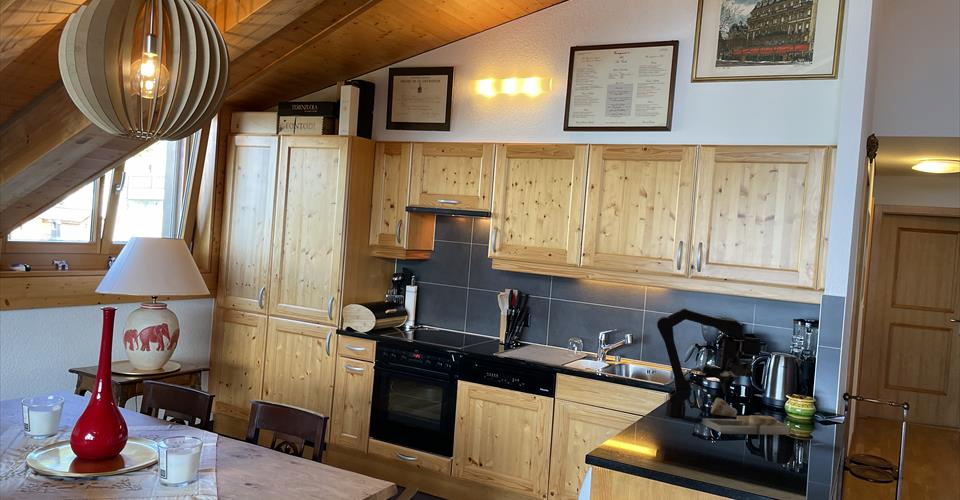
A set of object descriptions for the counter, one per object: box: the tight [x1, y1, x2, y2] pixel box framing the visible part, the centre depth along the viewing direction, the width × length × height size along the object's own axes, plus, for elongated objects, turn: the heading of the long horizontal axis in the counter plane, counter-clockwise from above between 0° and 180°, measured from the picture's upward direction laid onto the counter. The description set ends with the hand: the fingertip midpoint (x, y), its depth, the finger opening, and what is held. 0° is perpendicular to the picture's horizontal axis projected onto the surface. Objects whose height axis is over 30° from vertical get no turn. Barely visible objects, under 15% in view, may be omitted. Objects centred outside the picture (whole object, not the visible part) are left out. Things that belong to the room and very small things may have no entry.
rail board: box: [700, 415, 792, 436], centre depth 282 cm, size 30×14×4 cm, turn 109°
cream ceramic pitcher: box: [710, 397, 738, 418], centre depth 303 cm, size 8×10×10 cm
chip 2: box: [761, 415, 778, 426], centre depth 285 cm, size 4×4×4 cm
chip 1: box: [748, 414, 767, 431], centre depth 284 cm, size 4×4×4 cm
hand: (725, 393), depth 286 cm, fingers closed
